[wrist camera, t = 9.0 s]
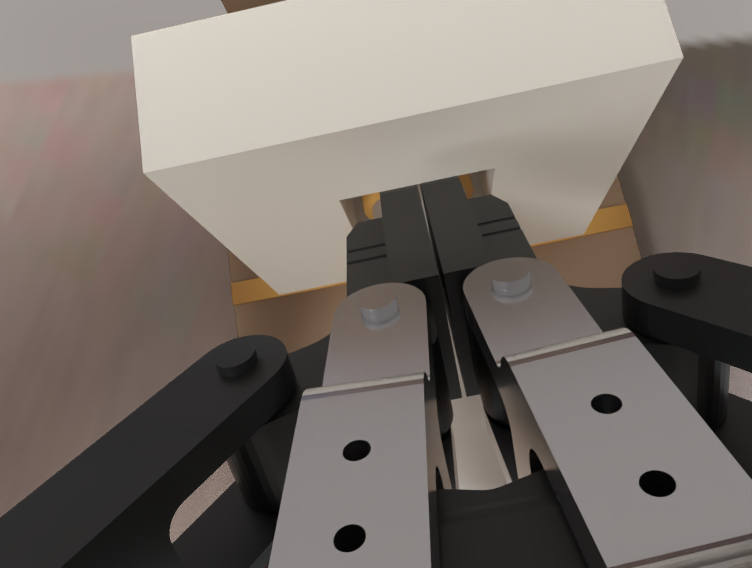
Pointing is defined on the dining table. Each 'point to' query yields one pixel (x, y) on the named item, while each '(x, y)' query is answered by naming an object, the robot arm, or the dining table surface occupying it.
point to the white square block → (393, 114)
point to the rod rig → (317, 306)
